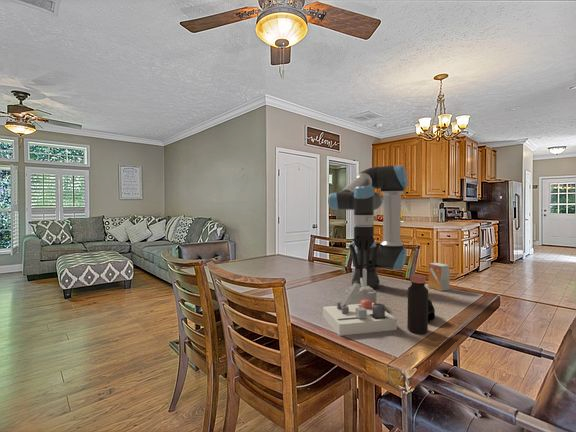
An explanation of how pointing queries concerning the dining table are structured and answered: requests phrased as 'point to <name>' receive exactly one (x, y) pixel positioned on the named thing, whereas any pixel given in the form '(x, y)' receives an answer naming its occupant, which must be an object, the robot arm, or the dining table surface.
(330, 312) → the panel
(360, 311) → the slider knob
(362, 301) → the button red
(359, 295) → the lumpy-topped squat cylinder
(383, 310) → the button black
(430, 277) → the small box
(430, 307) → the fried shrimp in bowl
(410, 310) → the bottle
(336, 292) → the dining table surface
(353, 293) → the lever
